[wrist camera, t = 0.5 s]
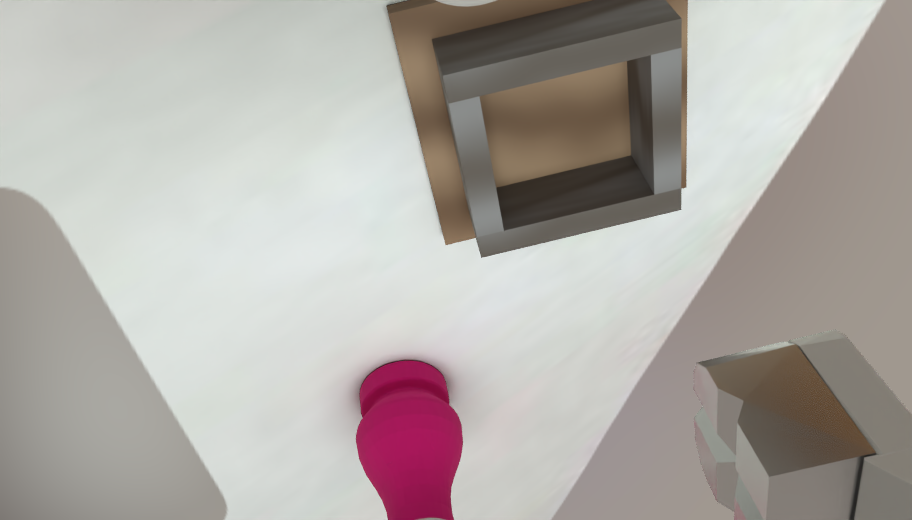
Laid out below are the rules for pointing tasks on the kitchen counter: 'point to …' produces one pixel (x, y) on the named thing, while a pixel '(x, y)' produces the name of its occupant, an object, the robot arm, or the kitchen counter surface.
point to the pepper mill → (409, 440)
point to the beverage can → (465, 2)
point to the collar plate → (546, 113)
